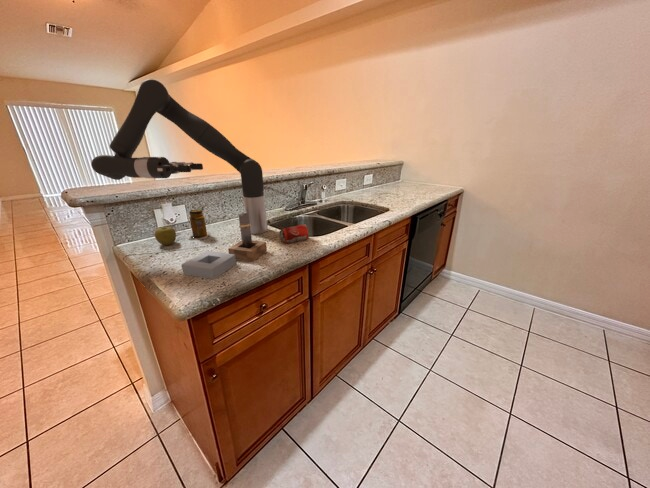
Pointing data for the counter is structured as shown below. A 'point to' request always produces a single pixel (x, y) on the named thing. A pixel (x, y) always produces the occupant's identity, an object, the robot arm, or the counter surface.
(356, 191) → the counter surface
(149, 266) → the counter surface
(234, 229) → the counter surface
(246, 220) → the gray banded bar
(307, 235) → the beverage can
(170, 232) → the apple
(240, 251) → the brown hollow square block
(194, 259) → the socket
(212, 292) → the counter surface
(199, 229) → the condiment
